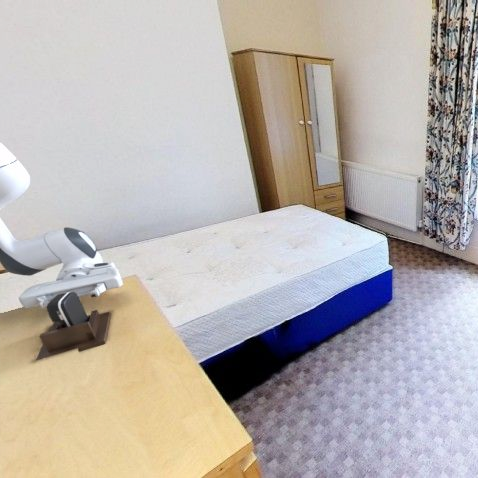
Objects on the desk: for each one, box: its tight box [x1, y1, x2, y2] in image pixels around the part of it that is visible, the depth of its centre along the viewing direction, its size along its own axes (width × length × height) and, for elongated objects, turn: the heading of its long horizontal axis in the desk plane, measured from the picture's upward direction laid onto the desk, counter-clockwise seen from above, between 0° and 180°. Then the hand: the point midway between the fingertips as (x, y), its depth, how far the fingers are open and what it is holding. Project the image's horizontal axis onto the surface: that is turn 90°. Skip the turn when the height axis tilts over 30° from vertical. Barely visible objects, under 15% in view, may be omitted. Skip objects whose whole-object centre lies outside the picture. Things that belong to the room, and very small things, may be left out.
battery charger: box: [46, 292, 89, 327], centre depth 83 cm, size 7×4×11 cm, turn 25°
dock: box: [35, 309, 112, 361], centre depth 84 cm, size 12×15×6 cm
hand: (70, 300), depth 87 cm, fingers open, 8 cm apart
